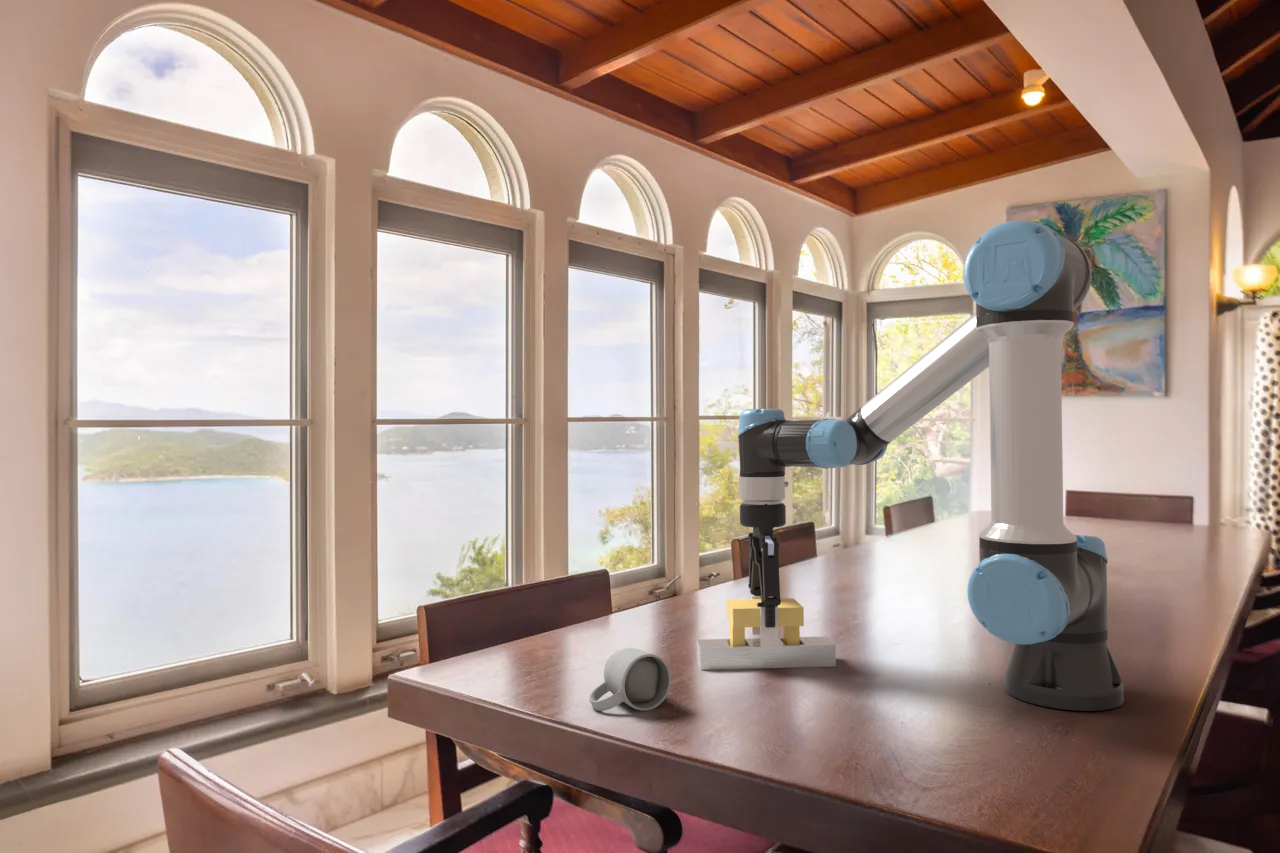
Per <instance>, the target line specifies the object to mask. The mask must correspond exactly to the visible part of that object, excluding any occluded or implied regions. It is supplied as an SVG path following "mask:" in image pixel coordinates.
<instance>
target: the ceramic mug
mask: <svg viewBox="0 0 1280 853" xmlns="http://www.w3.org/2000/svg"><path fill="white" fill-rule="evenodd" d="M603 680H604V682H602V683H601V684H599V685H598V686H597V687H596V688H595V689H593V690H592V691H591V693H590V694H589V697H588V698H589V703H590V705H591V706H592V708H593V710H595V711H596V712H604V711H608V710H611V709H613V708H614V707H615V708H616V707H617V706H619V705H621V704H622V703H625V704H626V705H627V706H629V707H630V708H632V709H634V710H637V711H641V712H642V711H643V712H644V711H645V712H646V711H651V710H654V709H655V708H658V707H659V706H660V705H661V704H662V703H663V702H664V701H665V700H666V698H667V696H668V694H669V691H670V689H671V683H672V677H671V670H670V668H669V666H668V664H667V662H666V661H665V660H664V659H663V657H661V656H659V655H658V654H655V653H652V652H647V651H644V650H642V649H641V650H640V649H638V648H633V647H626V648H625V647H624V648H621V649H618V650H616V651H615V652H613V653H612V654H611V655H610V656H609V658H608V659H607V660H606V663H605V665H604V670H603ZM608 692H610V693H611V694H612V695H610V696H608V697H606V698H604V699H601V698H602V697H603V696H605V695H606V694H608ZM600 699H601V700H600Z"/></svg>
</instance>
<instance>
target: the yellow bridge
mask: <svg viewBox="0 0 1280 853" xmlns="http://www.w3.org/2000/svg"><path fill="white" fill-rule="evenodd" d="M780 600H781V604H780V605H778V628H780V627H783V628H782V630H783V634H782V635H783V637H782V638H783V642H784V644H785V645H800V637H801V635H800V627H804V623H805V621H804V619H805V618H804V617H805V616H804V606H803V605H801V604H800V603H799V602H798V601H797V600H796V599H795V598H794V597H780ZM757 603H761V599H751V598H736V599H734V598H733V599H728V598H726V604H725V605H726V618H727V620H728V621H729V639H730V646H745V638H746V637H745V636H746V632H745V631H746V628H752V627H760V607H757Z"/></svg>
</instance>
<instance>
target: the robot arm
mask: <svg viewBox="0 0 1280 853" xmlns="http://www.w3.org/2000/svg"><path fill="white" fill-rule="evenodd" d="M965 257H966V258H965V261H964V264H963V272H962V277H963V283H964V286H965V289H966V291H967V293H968V294H969V297H971V299H972V300H973V301H974V302H975V312H974V313H973V314H972V315H971V316H970V317H969V318H967V319H966V320H965V321H964V322H962V323H961V324H960V325H958V327H956V328H955V329H953V331H952V332H950V333H949V334H947V335H946V337H944V338H943V339H941V341H940V342H938V343H937V344H936V345H935V346H933V347H932V348H931V349H930V350H928V351H927V352H926V353H925V354H923V355H922V356H921V357H920V358H918V359H917V361H915V362H914V363H912V365H910V366H909V367H908V368H907V369H905V370H904V371H903V372H902V373H901V374H900V375H898V376H897V377H895V379H893V380H892V381H891V382H890V383H889V384H887V385H886V386H885V387H884V388H883V389H881V390H880V391H879V392H877V393H876V394H875V395H873V397H871V398H870V399H869V400H868V401H867V402H866V403H864V404H863V405H862V406H861V407H860V408H859V409H857V410H856V411H855V412H854V413H852V414H851V415H850V416H849V417H847V418H845V419H835V418H821V419H803V420H788V419H786V418H785V412H784V411H783V409H781V408H760V409H759V408H750V409H744V410H742V411H741V412H740V414H739V422H738V434H737V438H738V450H739V451H738V454H739V455H738V456H739V476H738V486H739V487H738V490H739V491H738V492H739V494H738V496H739V499H740V500H741V501H742V502H741V503H740V505H739V524H740V525H741V526H742V527H746V528H752V532H748V534H747V537H748V544H749V545H748V548H749V550H748V554H749V555H748V556H749V557H748V566H749V568H748V589H749V592H750V599H761V603H757V607H760V627H751V635H752V636H753V635H754V636H756V635H757V636H760V637H759V638H760V646H761V647H778V638H779V627H778V605H780V604H781V600H780V598H781V585H780V567H779V566H780V564H779V563H780V562H779V560H780V559H779V552H780V551H779V548H780V543H779V541H778V539H777V537H774V528H782V527H783V526H786V523H787V522H786V520H787V518H786V517H787V515H786V514H787V513H786V512H787V511H786V510H787V508H786V507H787V506H786V505H785V503H783V502H782V501H785V499H786V489H785V488H788V487H789V482H788V481H785V479H786V478H785V476H786V468H787V467H788V468H789V467H790V468H791V467H796V468H821V469H826V470H827V469H836V468H845V467H847V466H853V465H854V466H855V465H856V466H863V465H868V464H870V463H874V462H876V461H877V460H879V459H881V458H882V457H883V456H884V455H885V453H886V451H887V448H888V445H889V444H890V443H891V442H893V441H894V440H896V438H898V437H899V436H900V435H902V434H903V433H904V432H906V431H907V430H908V429H910V428H911V427H912V426H914V425H915V424H916V423H918V422H919V421H921V419H923V418H924V417H926V416H927V415H928V414H929V413H930V412H932V411H933V410H935V409H936V408H937V407H938V406H940V405H941V404H942V403H944V402H945V401H947V399H948V398H950V397H952V396H953V395H955V393H957V392H958V391H959V390H961V389H962V388H964V386H966V385H967V384H968V383H970V382H971V381H973V380H974V379H975V378H976V377H977V376H979V375H980V374H981V373H982V372H984V371H985V370H987V369H988V371H989V372H988V373H989V378H988V379H989V381H988V382H989V433H990V434H989V438H990V440H989V443H990V508H991V509H990V512H991V513H990V515H991V518H990V519H991V521H990V522H989V524H988V525H987V526H986V527H985V528H984V529H983V530H982V531H981V532H980V533H979V536H978V537H979V538H978V540H979V546H978V548H979V557H978V558H979V563H978V565H976V566H975V567H974V569H973V571H972V573H971V574H970V577H969V579H968V583H967V590H966V591H967V592H966V593H967V600H968V604H969V608H970V610H971V612H972V614H973V615H974V617H975V618H976V620H977V621H978V622H979V624H981V625H982V626H983V628H984V629H985V630H987V632H989V633H990V634H991V635H993V636H994V637H996V638H998V639H1000V640H1001V641H1005V642H1007V643H1010V644H1013V646H1012V651H1011V653H1010V657H1009V660H1008V663H1007V664H1006V665H1007V666H1006V668H1005V671H1004V689H1005V691H1006V693H1008V694H1009V695H1011V696H1012V697H1014V698H1016V699H1018V700H1021V701H1023V702H1026V703H1030V704H1033V705H1037V706H1040V707H1047V708H1052V709H1058V710H1067V711H1079V712H1080V711H1082V712H1083V711H1084V712H1085V711H1086V712H1088V711H1089V712H1095V711H1106V710H1107V711H1108V710H1112V709H1113V710H1114V709H1115V708H1118V707H1121V706H1123V704H1124V700H1125V697H1124V694H1125V693H1124V685H1123V682H1122V679H1121V675H1120V673H1119V670H1118V668H1117V665H1116V662H1115V660H1114V657H1113V654H1112V652H1111V649H1110V646H1109V637H1108V636H1109V634H1108V631H1109V630H1108V629H1109V628H1108V627H1109V626H1108V625H1109V624H1108V579H1107V578H1108V576H1107V575H1108V574H1107V567H1108V566H1107V564H1108V562H1109V560H1108V559H1109V558H1108V556H1107V552H1106V551H1107V550H1106V545H1105V542H1104V541H1103V540H1102V539H1101V538H1100V537H1098V536H1093V535H1083V534H1081V535H1080V534H1074V533H1073V532H1071V530H1070V529H1068V528H1067V527H1066V525H1065V523H1064V473H1063V472H1064V468H1063V464H1064V463H1063V462H1064V461H1063V459H1064V458H1063V412H1062V411H1063V407H1062V406H1063V404H1062V402H1063V400H1062V399H1063V398H1062V396H1063V394H1062V390H1063V389H1062V339H1063V337H1064V336H1065V334H1067V333H1068V332H1069V331H1070V330H1071V329H1072V328H1073V327H1074V325H1075V324H1074V322H1075V321H1074V319H1075V316H1074V315H1075V312H1074V311H1075V310H1076V309H1078V307H1079V306H1080V305H1081V304H1082V303H1083V301H1084V300H1085V299H1086V297H1087V295H1088V293H1089V291H1090V288H1091V285H1092V280H1093V278H1092V277H1093V273H1092V265H1091V264H1092V263H1091V261H1090V258H1089V256H1088V255H1087V253H1086V252H1085V251H1084V249H1083V248H1082V247H1081V246H1080V245H1079V244H1077V243H1076V242H1075V241H1073V240H1071V239H1069V238H1068V237H1064V236H1062V235H1061V234H1058V233H1057V232H1056V231H1055V230H1054V229H1052V228H1051V227H1050V226H1048V225H1045V224H1044V223H1040V222H1033V221H1029V220H1011V221H1005V222H1003V223H1000V224H997V225H995V226H993V227H990V229H988V230H987V231H986V232H983V234H982V235H981V236H980V237H979V238H977V239H976V241H975V242H974V243H973V245H972V246H971V247H970V249H969V250H968V252H967V254H966V256H965Z"/></svg>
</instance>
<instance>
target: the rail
mask: <svg viewBox="0 0 1280 853" xmlns="http://www.w3.org/2000/svg"><path fill="white" fill-rule="evenodd" d="M836 651H837V650H836V644H835V643H834V641H832V640H831V639H830V638H829V637H828V636H800V645H785V644H784V642H783V637H778V647H761V646H760V637H756V638H755V637H753V638H752V637H751V638H747V637H745V646H730V638H715V639H712V638H708V639H696V662H697V664H698V666H699V669H700V671H706V670H708V671H710V670H711V671H713V670H742V669H743V670H746V669H749V670H750V669H752V670H753V669H754V670H755V669H785V668H787V669H789V668H821V667H822V668H823V667H830V668H833V667H836V666H837V662H836V661H837V660H836V659H837V658H836Z"/></svg>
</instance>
